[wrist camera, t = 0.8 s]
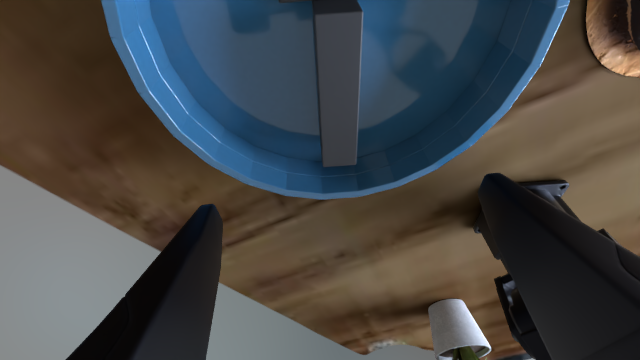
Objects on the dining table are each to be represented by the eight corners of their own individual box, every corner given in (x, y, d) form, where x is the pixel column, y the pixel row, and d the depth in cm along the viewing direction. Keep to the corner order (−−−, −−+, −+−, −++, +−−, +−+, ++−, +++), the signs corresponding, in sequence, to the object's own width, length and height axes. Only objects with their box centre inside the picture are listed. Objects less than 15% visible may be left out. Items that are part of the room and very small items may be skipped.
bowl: (627, -320, 10) (761, -407, 7) (461, 151, 24) (484, 188, 21) (24, -282, 10) (-90, -354, 7) (208, 170, 24) (196, 209, 21)
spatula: (256, -185, 11) (246, -202, 9) (404, -195, 11) (429, -214, 9) (297, 143, 21) (297, 169, 19) (374, 137, 22) (382, 163, 19)
